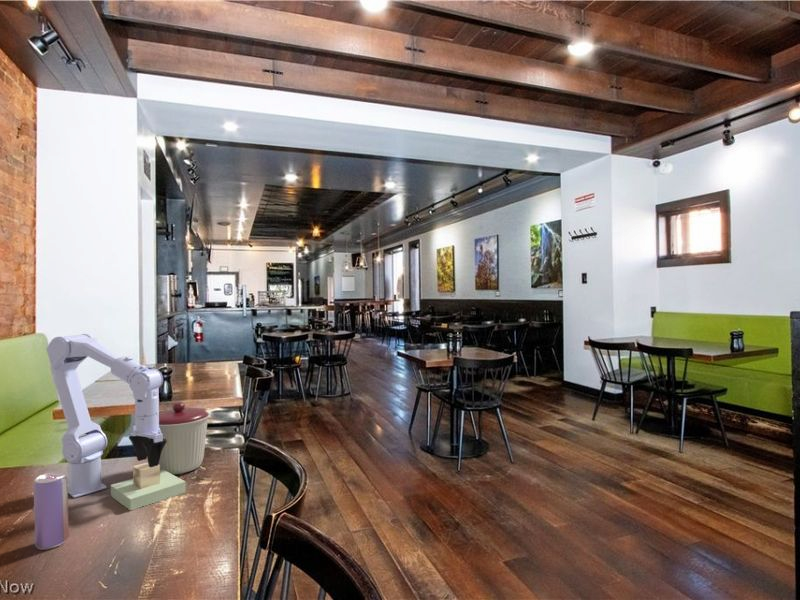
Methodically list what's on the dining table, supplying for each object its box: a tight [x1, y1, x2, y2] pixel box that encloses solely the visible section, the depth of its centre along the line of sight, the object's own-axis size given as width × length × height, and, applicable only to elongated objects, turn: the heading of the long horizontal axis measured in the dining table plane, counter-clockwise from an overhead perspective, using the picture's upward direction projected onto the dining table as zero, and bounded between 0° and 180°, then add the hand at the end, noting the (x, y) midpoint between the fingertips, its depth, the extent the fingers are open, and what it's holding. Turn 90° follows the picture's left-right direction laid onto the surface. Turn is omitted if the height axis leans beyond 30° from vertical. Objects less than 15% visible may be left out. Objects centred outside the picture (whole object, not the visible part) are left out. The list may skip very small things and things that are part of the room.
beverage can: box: [33, 471, 70, 551], centre depth 101 cm, size 6×6×15 cm
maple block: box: [132, 461, 160, 489], centre depth 126 cm, size 5×5×5 cm
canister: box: [159, 401, 211, 476], centre depth 144 cm, size 18×18×21 cm
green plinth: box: [110, 470, 187, 511], centre depth 126 cm, size 14×14×3 cm
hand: (147, 462), depth 126 cm, fingers open, 7 cm apart
